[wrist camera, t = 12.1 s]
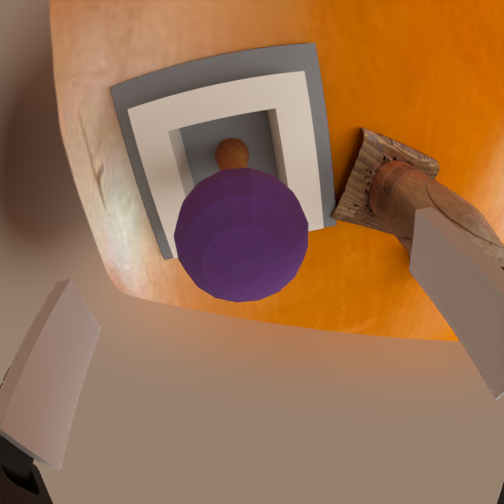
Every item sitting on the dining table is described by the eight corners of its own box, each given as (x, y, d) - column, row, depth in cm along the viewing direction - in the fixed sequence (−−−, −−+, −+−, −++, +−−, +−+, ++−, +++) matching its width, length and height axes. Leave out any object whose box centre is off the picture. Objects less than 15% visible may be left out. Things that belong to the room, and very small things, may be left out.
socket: (113, 87, 24) (86, 88, 19) (312, 44, 24) (334, 34, 18) (165, 255, 34) (155, 289, 29) (333, 221, 34) (354, 249, 28)
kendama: (211, 190, 30) (198, 342, 13) (193, 135, 27) (138, 224, 10) (268, 174, 30) (331, 308, 12) (254, 117, 26) (311, 175, 9)
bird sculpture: (401, 233, 36) (553, 438, 9) (324, 216, 34) (477, 503, 7) (431, 155, 31) (645, 321, 3) (352, 124, 29) (652, 333, 1)
